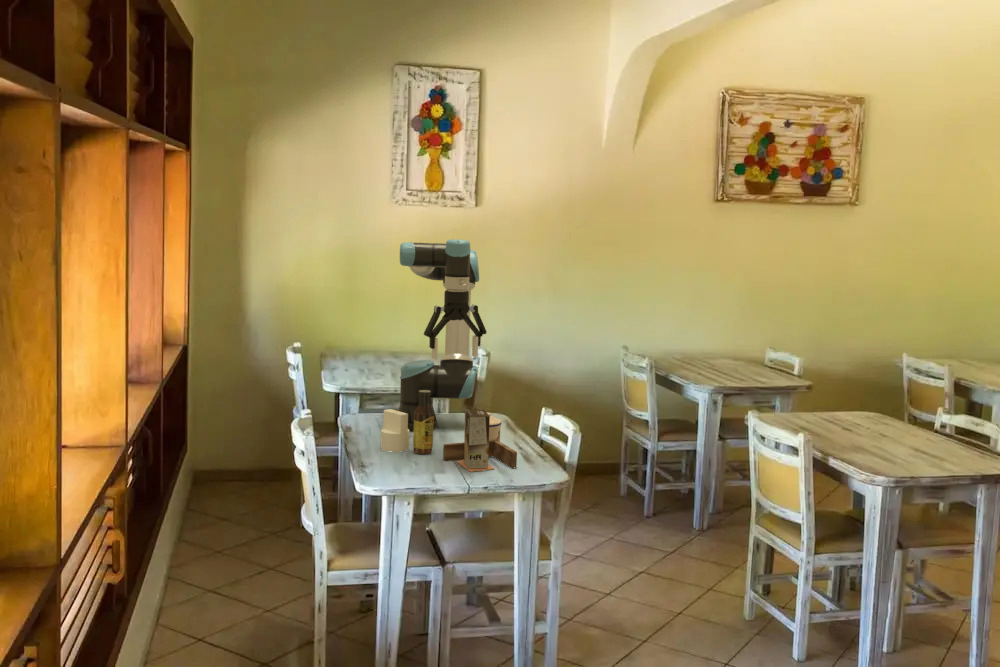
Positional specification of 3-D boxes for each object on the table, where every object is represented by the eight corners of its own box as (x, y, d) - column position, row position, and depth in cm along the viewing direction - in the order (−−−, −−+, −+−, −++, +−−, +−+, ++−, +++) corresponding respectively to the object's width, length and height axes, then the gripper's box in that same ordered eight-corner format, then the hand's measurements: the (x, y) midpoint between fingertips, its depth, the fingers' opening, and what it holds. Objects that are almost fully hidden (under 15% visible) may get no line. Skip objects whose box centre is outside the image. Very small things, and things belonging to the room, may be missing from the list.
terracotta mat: (456, 462, 273) (456, 460, 273) (480, 459, 276) (480, 458, 276) (470, 472, 263) (470, 470, 263) (494, 469, 266) (494, 468, 266)
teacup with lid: (502, 451, 286) (503, 416, 285) (474, 451, 285) (475, 416, 283) (496, 441, 298) (498, 407, 297) (470, 441, 297) (471, 407, 295)
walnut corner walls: (443, 459, 275) (443, 444, 274) (495, 454, 282) (496, 439, 282) (461, 473, 261) (462, 457, 261) (516, 467, 269) (517, 452, 268)
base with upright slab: (414, 448, 286) (415, 412, 284) (393, 453, 279) (394, 416, 278) (396, 443, 292) (397, 407, 290) (375, 447, 285) (375, 411, 284)
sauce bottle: (427, 456, 278) (429, 394, 275) (409, 453, 280) (410, 391, 278) (436, 450, 284) (437, 390, 282) (418, 448, 286) (419, 388, 284)
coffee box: (488, 468, 266) (490, 416, 264) (467, 469, 264) (469, 416, 262) (483, 459, 275) (484, 409, 272) (462, 460, 273) (464, 409, 271)
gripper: (423, 292, 264) (421, 362, 267) (498, 290, 275) (496, 357, 278) (414, 289, 271) (412, 357, 274) (488, 287, 281) (485, 353, 285)
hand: (454, 357), depth 276 cm, fingers open, 13 cm apart
